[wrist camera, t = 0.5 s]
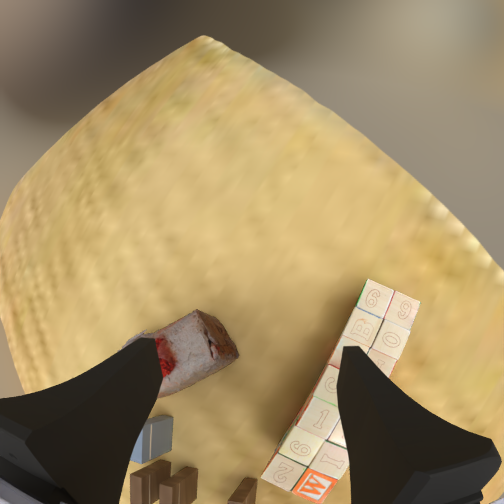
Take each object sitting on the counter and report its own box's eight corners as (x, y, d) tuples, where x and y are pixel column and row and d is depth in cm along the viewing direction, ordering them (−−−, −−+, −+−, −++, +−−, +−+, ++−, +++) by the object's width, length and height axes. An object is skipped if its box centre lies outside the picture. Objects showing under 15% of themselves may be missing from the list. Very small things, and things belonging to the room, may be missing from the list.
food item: (160, 405, 38) (118, 412, 29) (136, 354, 41) (93, 348, 32) (245, 360, 38) (221, 359, 29) (215, 307, 41) (186, 291, 32)
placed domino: (173, 417, 37) (142, 426, 30) (171, 450, 35) (141, 464, 28) (162, 414, 37) (131, 422, 30) (161, 447, 36) (130, 460, 28)
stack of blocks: (357, 296, 38) (373, 267, 26) (401, 316, 36) (433, 295, 24) (277, 445, 33) (258, 478, 22) (320, 466, 31) (319, 507, 20)
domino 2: (198, 469, 34) (172, 487, 26) (196, 498, 32) (171, 520, 25) (186, 466, 34) (159, 483, 27) (185, 495, 32) (159, 516, 25)
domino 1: (171, 462, 35) (141, 478, 27) (170, 491, 33) (141, 510, 26) (160, 459, 35) (129, 474, 28) (159, 488, 33) (130, 506, 26)
